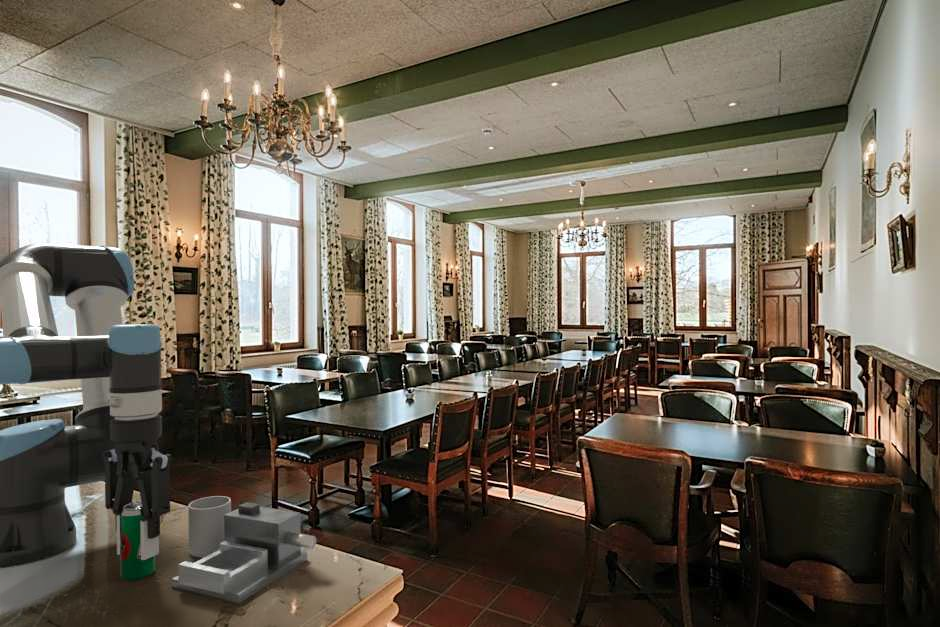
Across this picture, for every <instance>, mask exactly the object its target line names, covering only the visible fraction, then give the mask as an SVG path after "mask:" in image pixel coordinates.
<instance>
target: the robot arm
mask: <svg viewBox="0 0 940 627" xmlns="http://www.w3.org/2000/svg"><path fill="white" fill-rule="evenodd" d="M134 275H135V274H134V269H133V265H132V262H131V258H130V257H129V255H128V253H127V252H126V251H125V250H124V249H122V248H119V247H111V246H106V245H98V246H95V245H84V244H83V245H82V244H81V245H80V244H79V245H78V244H63V243H51V242H43V243H42V242H41V243H39V242H38V243H33V244H32V243H31V244H28V245H25V246H22V247H19V248H17V249H15V250H13V251H12V252H10V253H8V254H6V255H5V256H4V257H3V258H1V259H0V313H1V321H2V322H1V324H2V336H3V338H0V385H13V384H14V385H15V384H17V385H26V384H32V383H34V384H35V383H45V382H56V381H69V380H71V381H72V380H73V381H74V380H80V384H81V385H80V386H81V396H82V406H83V407H82V408H83V409H81V411H79V413H78V414H77V415H76V416H75V418H74V422H75V424H74V425H73V424H72V425H66V423H65V422H64V420H63V419H61V418H52V419H46V420H45V419H42V420H41V419H40V420H35V421H31V422H26V423H22V424H18V425H14V426H11V427H6V428H4V429H1V430H0V569H3V568H4V569H5V568H12V567H18V566H23V565H29V564H31V563H35V562H39V561H42V560H45V559H49V558H51V557H54V556H56V555H59V554H62V553H63V552H65V551H66V550H69V549H70V548H72V546H74V545H75V544H76V542H77V527H76V525H75V523H74V520H73V518H72V516H71V513H70V511H69V509H68V506H67V504H66V494H65V491H66V490H65V489H67V488H70V487H71V488H72V487H76V486H82V485H88V484H93V483H98V482H99V483H100V482H104V490H105V492H104V502H105V503H104V504H105V509H106V510H112V513H113V515H115V531H116V555H119V556H120V513H121V511H122V510H123V509H122V507H123V506H124V505H126V504H129V503H132V502H133V496H134V492H135V487H136V486H135V485H136V481H137V486H138V490H139V496H140V501H141V502H142V508H143V513H144V517H143V518H141V519H140V526H141V560H146V559H148V558H150V557H152V556H155V557H156V555H159V554H160V549H159V548H160V546H159V545H160V541H159V539H160V538H159V537H160V535H161V517H162V516H164V515H167V514H168V513H170V512H171V484H170V482H171V480H170V474H171V473H170V467H171V464H172V460H173V458H172V454H170V453H167V454H162V453H161V452H160V448H159V446H158V443H157V441H158V439H159V438H160V437H162V434H163V425H162V424H163V422H162V421H163V416H161V414H159V413H161V412H162V410H163V400H162V399H163V397H162V395H163V394H162V393H163V392H162V346H163V342H162V340H161V329H160V327H159V326H158V325H157V324H155V323H154V324H152V323H151V324H149V323H147V324H146V323H144V324H142V323H141V324H140V323H139V324H137V323H136V324H133V323H132V324H124V322H123V321H124V320H123V315H122V313H123V312H122V307H123V306H124V305H126V303H127V301H128V298H129V297H131V296H132V295H133V293H134V289H135V279H134ZM50 297H64V298H65V300H64V301H65V304H66V305H67V307H68V308H70V309H72V310H73V311H74V314H75V315H74V317H75V326H76V328H75V329H76V335H70V336H68V335H65V336H64V335H63V336H60V335H59V334H58V329H57V325H56V324H57V323H56V320H55V315H54V310H53V306H52V301H51V298H50ZM151 510H152V511H151Z"/></svg>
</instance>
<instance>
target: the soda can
mask: <svg viewBox="0 0 940 627" xmlns="http://www.w3.org/2000/svg"><path fill="white" fill-rule="evenodd" d="M122 509H123V510H122V511H121V513H120V555H119V568H120V569H119V572H120V574H119V575H120V578H121V579H122V580H123V581H127V582H129V581H130V582H131V581H138V580H143V579H145V578H148V577H149V576H151V575H153V574H154V572H155V570H156V555H155V556H152V557H150V558H148V559H146V560H141V526H140V519H141V518H143V517H144V513H143V508H142V502H141V500H138V501H137V500H136V501H132V503H129V504H126V505H124V506H123V507H122ZM151 511H152V510H151Z"/></svg>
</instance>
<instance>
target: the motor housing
mask: <svg viewBox="0 0 940 627" xmlns="http://www.w3.org/2000/svg"><path fill="white" fill-rule="evenodd" d="M316 545H317V537H316V536H315V535H310V534H304V533H301V512H298V511H293V510H287V509H279V508H278V509H277V508H273V507H265V506H261V505H260V503H254V502H247V501H246V502H244V503H242V504H239V505H238V508H236V509H234V510H231V512H230V513H227V514H225V515H224V542H222V543H220V544H219V550H218V551H216V552H214V553H212V554H210V555H208V556H206V557H201V559H199V560H197V561H194V562H190V561H187V560H185V561H183V562H179V563H178V564H177V567H178V568H177V574H178V575H177V576H174V577H173V578H171V587H172V588H176V589H180V590H183V591H187V592H192V593H196V594H201V595H203V596H208V597H211V598H217V599H219V600H224V601H229V602H232V603H236V604H241V603H242V602H244V601H245V600H247V599H249V598H250V597H252V596H253V595H255V594H256V593H258V592H259V591H261V590H264V588H266V587H267V586H269V585H271V584H272V583H274V582H276V581H277V580H278V579H280V578H282V577H284V576H285V575H286V574H288V573H290V572H291V571H292V569H293V570H294V569H296V568H297V567H299V566H300V565H302V564H304V562H307V561H308V551H306V550H302V548H306V549H314V548H315V546H316ZM270 583H271V584H270Z"/></svg>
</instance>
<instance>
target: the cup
mask: <svg viewBox="0 0 940 627" xmlns="http://www.w3.org/2000/svg"><path fill="white" fill-rule="evenodd" d="M187 507H188V508H187V509H188V510H187V511H188V513H187V514H188V515H187V517H188V520H187V521H188V553H189V555H190V556H192V557H194V558H204V557H206V556H208V555H210V554H212V553H214V552H216V551H218V550H219V544H220V543H222V542H224V515H225V514H227V513H230V512H232V499H231V498H230V497H229V496H223V495H214V496H213V495H212V496H206V497H201V498H198V499H195V500H192V501H191V502H190V503H189V504H188V506H187Z"/></svg>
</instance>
